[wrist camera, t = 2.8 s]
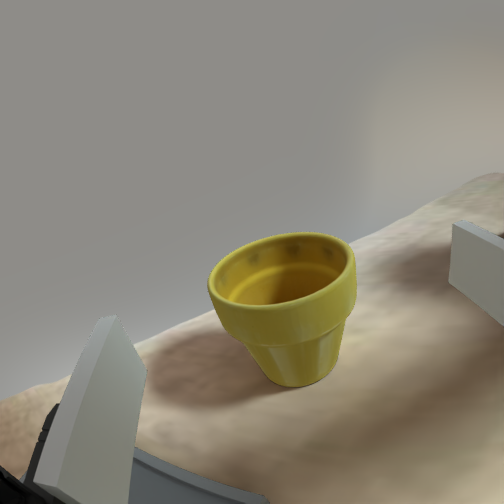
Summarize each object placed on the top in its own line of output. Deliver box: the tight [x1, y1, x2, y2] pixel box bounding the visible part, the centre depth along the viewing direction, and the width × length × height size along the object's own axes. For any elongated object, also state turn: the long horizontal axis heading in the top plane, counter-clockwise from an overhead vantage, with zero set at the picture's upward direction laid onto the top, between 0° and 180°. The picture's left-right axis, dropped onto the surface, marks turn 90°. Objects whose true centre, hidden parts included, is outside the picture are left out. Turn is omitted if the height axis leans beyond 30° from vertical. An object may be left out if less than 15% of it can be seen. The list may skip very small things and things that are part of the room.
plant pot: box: [207, 232, 357, 387], centre depth 22 cm, size 10×10×10 cm
